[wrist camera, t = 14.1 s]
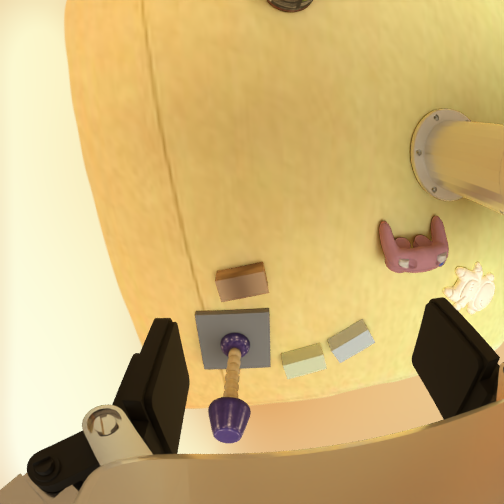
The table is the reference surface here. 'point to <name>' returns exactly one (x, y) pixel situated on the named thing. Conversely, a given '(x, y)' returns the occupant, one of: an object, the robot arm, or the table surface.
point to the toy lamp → (230, 394)
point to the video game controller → (414, 249)
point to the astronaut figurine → (471, 289)
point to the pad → (234, 321)
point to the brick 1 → (242, 282)
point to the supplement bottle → (290, 4)
